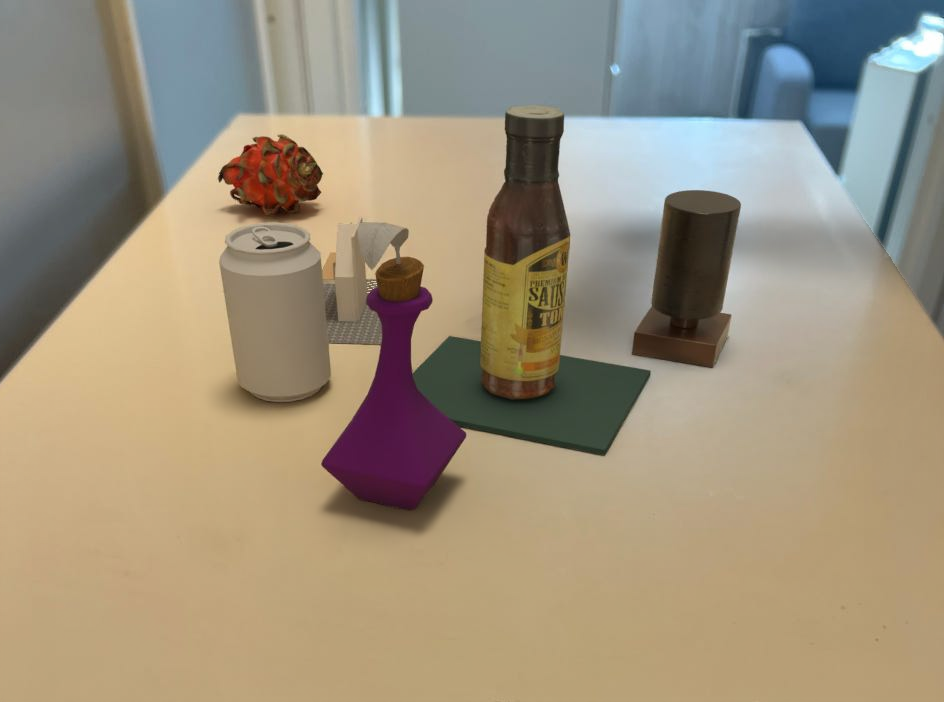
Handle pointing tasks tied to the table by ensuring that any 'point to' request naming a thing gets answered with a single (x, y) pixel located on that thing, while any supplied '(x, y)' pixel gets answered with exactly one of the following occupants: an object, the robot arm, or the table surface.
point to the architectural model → (349, 292)
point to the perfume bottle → (394, 392)
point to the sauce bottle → (525, 260)
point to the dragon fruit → (273, 175)
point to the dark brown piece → (690, 279)
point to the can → (276, 311)
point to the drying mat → (537, 419)
